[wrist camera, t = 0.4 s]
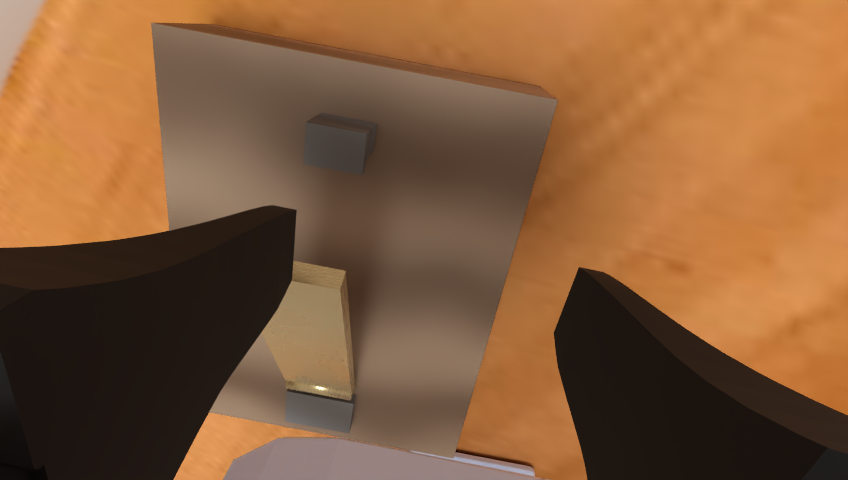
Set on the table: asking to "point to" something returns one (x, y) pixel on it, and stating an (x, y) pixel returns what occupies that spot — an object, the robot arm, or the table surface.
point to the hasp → (314, 333)
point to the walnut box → (359, 210)
